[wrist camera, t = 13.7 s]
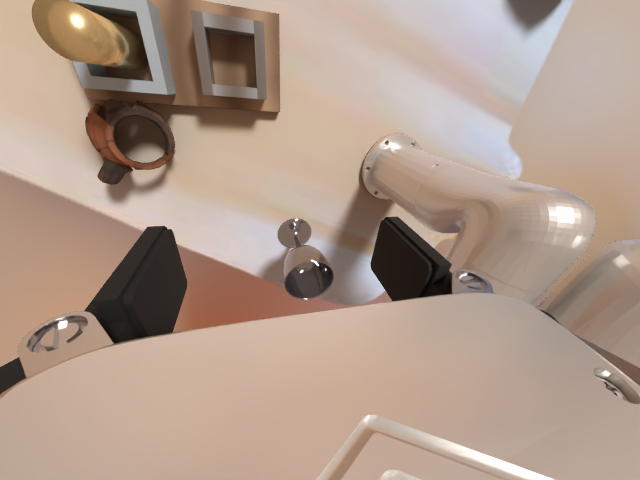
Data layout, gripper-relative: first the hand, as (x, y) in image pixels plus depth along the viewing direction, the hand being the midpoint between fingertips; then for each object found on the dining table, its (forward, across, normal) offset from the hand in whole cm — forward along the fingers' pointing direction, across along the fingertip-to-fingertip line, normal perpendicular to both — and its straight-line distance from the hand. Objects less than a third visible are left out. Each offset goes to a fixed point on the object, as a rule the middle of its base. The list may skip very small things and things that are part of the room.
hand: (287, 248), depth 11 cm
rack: (+31, +15, -9) cm, 36 cm away
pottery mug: (+33, +18, +2) cm, 38 cm away
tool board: (+33, +9, -9) cm, 36 cm away
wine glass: (+33, -6, +19) cm, 39 cm away
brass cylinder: (+32, +15, -9) cm, 36 cm away
